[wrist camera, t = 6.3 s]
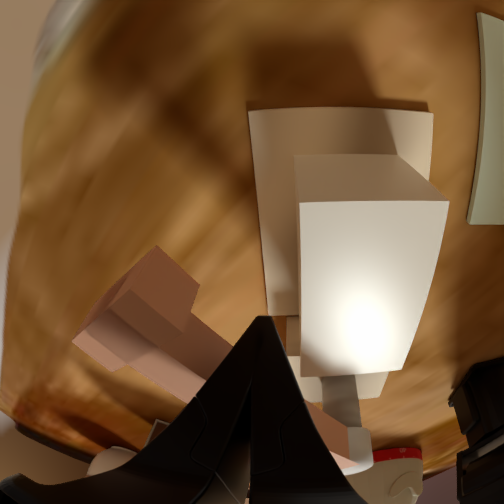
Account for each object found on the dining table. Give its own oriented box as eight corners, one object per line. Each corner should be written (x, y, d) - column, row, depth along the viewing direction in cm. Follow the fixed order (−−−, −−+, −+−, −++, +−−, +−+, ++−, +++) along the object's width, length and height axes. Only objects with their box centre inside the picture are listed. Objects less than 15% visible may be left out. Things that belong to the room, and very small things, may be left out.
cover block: (397, 154, 12) (449, 201, 8) (379, 297, 16) (401, 369, 12) (293, 155, 13) (299, 202, 8) (298, 301, 17) (300, 377, 13)
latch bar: (156, 245, 8) (129, 288, 6) (384, 434, 13) (388, 463, 12) (95, 302, 9) (71, 341, 8) (326, 452, 15) (326, 480, 13)
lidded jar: (175, 466, 38) (163, 517, 30) (137, 466, 42) (126, 510, 35) (118, 437, 34) (99, 493, 26) (87, 439, 38) (70, 485, 30)
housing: (429, 112, 11) (524, 155, 5) (385, 360, 20) (401, 443, 14) (249, 110, 12) (218, 146, 6) (273, 367, 21) (268, 454, 15)
